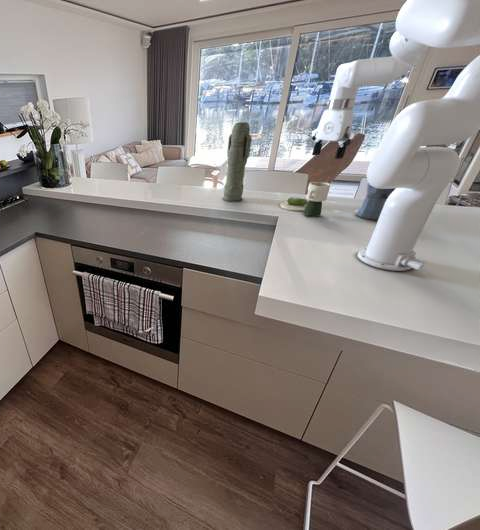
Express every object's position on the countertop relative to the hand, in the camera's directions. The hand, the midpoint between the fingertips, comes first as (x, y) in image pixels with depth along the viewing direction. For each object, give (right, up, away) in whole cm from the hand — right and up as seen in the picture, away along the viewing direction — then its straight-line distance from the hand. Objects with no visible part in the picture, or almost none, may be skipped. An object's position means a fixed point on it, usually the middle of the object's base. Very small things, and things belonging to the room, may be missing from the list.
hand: (326, 156), depth 109 cm
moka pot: (+21, -22, +5) cm, 31 cm away
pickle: (+1, -15, +21) cm, 26 cm away
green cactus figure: (-21, -8, +37) cm, 44 cm away
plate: (+1, -15, +21) cm, 26 cm away
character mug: (+2, -21, +11) cm, 24 cm away
